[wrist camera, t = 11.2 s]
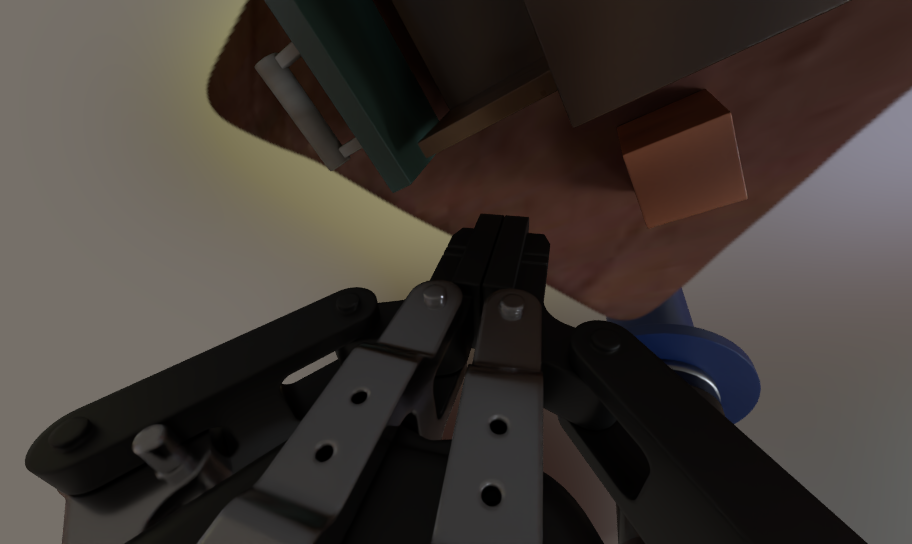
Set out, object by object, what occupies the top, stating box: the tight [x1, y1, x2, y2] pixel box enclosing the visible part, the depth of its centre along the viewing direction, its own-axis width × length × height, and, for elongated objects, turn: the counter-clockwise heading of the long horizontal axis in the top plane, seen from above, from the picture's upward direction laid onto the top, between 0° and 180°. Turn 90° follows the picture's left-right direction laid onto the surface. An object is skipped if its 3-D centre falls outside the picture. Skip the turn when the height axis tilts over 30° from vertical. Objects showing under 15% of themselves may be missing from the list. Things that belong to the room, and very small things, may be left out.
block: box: [617, 89, 748, 228], centre depth 20 cm, size 4×4×4 cm
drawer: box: [255, 0, 558, 193], centre depth 17 cm, size 17×10×7 cm, turn 121°
